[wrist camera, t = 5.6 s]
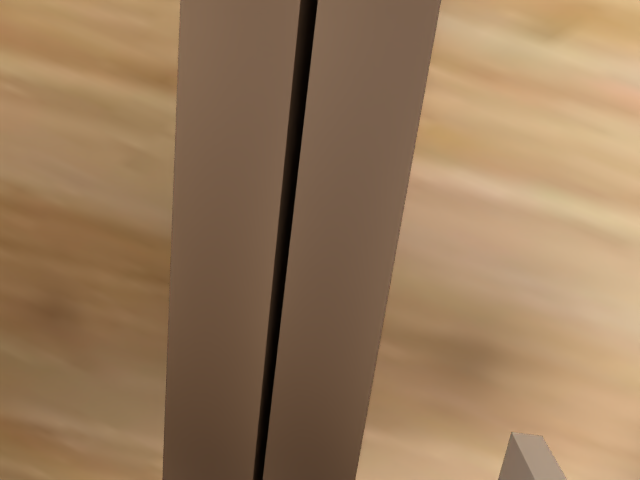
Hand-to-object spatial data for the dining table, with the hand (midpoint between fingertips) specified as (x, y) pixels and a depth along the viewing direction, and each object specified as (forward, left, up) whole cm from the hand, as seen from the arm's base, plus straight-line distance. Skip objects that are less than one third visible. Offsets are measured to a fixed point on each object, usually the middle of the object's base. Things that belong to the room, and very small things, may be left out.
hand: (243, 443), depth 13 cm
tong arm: (-1, +3, -5) cm, 6 cm away
